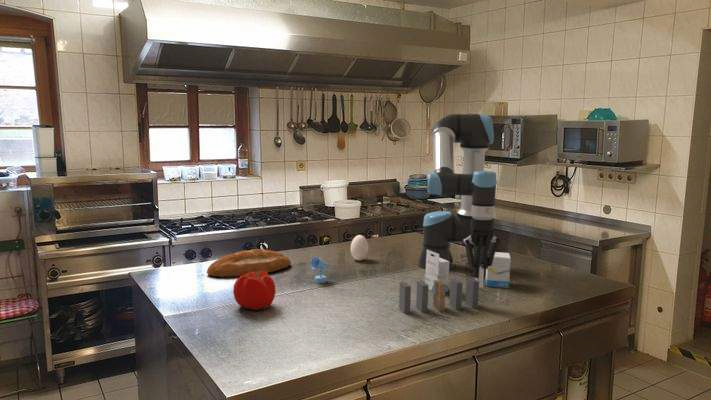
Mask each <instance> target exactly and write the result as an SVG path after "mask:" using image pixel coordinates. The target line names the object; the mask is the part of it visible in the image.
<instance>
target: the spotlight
mask: <svg viewBox="0 0 711 400" xmlns="http://www.w3.org/2000/svg"><path fill="white" fill-rule="evenodd" d="M309 266H310V268H311V270H317V271H318V270H319V275H315V276H314V282H315V283H318V284H324V283H326V282H327V280H328V279H327V276H326V275H323V274H322V272H323V271H327V270H328V268H329V264H328V263H327V261H325V260H323V259H321V258H320V257H319V256H314V257H312V259H311V260H310V265H309Z"/></svg>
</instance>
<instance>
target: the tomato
mask: <svg viewBox="0 0 711 400" xmlns="http://www.w3.org/2000/svg"><path fill="white" fill-rule="evenodd" d="M232 289H233V290H232V292H233V297H234V300H235V302H236V303H237V305H239V306H240V307H242V308H243V309H246V310H249V309H250V310H252V311H258V310H264V309H266V308H267V307H270V306H271V305H272V303H273V302H274V299H275V297H276V284H275V281H274V279H273V278H272V277H271V275H270V274H269V273H267V272H266V271H259V272H257V273H255V272H249V273H247V274H246V275H243V276H238V278H237V279H236V280H235V282H234V284H233V288H232Z"/></svg>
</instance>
